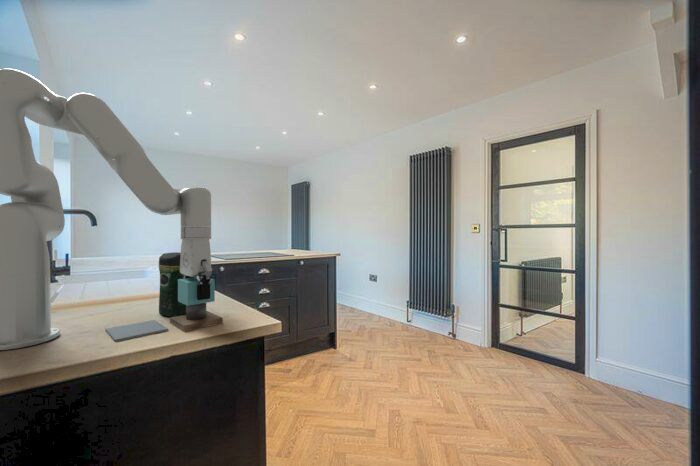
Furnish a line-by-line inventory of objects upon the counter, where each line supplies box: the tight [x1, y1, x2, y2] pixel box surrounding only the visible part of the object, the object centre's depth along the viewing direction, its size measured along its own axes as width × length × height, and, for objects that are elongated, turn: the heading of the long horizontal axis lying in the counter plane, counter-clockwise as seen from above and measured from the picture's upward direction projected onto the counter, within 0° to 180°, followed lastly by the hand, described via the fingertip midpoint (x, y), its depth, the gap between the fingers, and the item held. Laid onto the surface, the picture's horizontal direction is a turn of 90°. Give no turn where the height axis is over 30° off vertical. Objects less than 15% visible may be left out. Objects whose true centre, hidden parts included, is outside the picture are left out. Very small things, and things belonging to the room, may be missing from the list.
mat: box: [104, 319, 169, 343], centre depth 81 cm, size 11×11×1 cm
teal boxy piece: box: [178, 276, 216, 306], centre depth 87 cm, size 7×7×6 cm
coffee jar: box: [158, 251, 186, 318], centre depth 96 cm, size 10×8×19 cm
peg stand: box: [169, 303, 223, 332], centre depth 87 cm, size 10×10×12 cm
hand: (196, 296), depth 87 cm, fingers open, 9 cm apart
